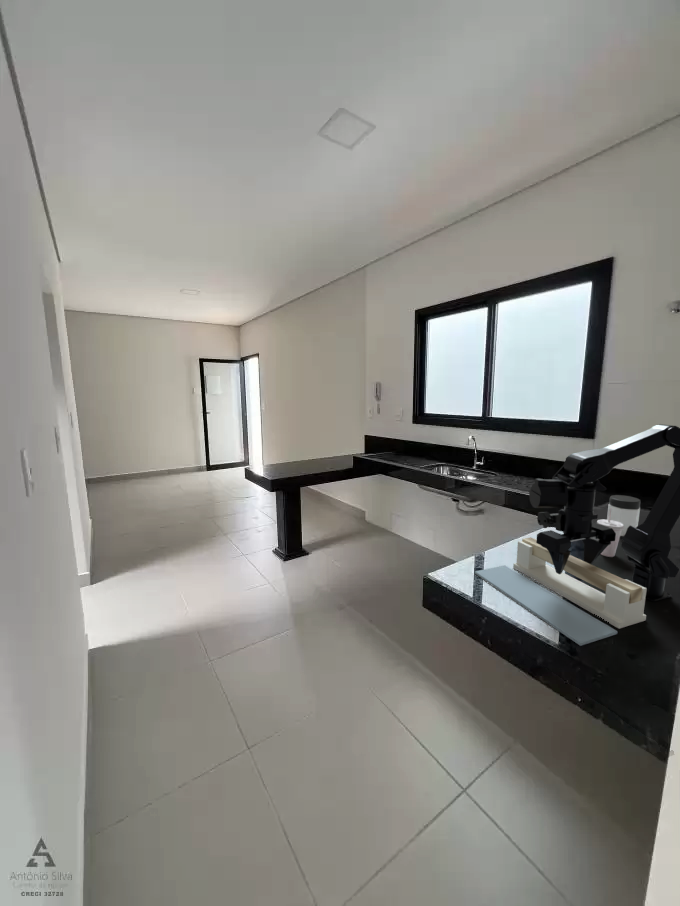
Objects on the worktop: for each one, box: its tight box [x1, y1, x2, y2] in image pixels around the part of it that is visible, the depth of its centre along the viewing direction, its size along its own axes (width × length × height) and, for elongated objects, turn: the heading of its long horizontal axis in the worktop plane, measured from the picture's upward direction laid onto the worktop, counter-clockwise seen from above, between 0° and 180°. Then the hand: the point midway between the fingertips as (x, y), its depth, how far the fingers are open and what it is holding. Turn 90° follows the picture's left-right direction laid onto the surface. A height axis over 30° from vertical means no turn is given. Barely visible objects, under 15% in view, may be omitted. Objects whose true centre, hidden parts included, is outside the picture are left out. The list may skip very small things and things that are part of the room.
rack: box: [512, 538, 647, 629], centre depth 88 cm, size 8×28×8 cm, turn 19°
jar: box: [606, 494, 641, 537], centre depth 123 cm, size 9×8×12 cm
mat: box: [474, 565, 618, 647], centre depth 85 cm, size 10×30×1 cm, turn 19°
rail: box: [521, 537, 642, 604], centre depth 87 cm, size 3×28×3 cm, turn 19°
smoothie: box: [596, 508, 624, 558], centre depth 107 cm, size 6×6×14 cm
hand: (572, 570), depth 88 cm, fingers open, 9 cm apart
